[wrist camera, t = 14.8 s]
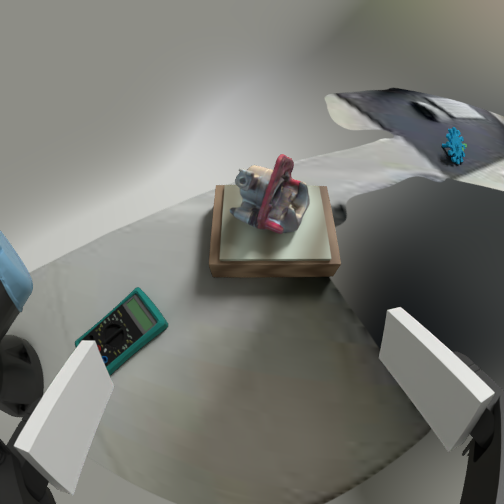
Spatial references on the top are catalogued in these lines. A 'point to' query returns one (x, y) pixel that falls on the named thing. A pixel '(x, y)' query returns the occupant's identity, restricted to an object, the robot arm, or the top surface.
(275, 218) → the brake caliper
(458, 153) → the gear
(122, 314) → the digital multimeter
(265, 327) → the top surface
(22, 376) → the robot arm
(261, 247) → the walnut stand
